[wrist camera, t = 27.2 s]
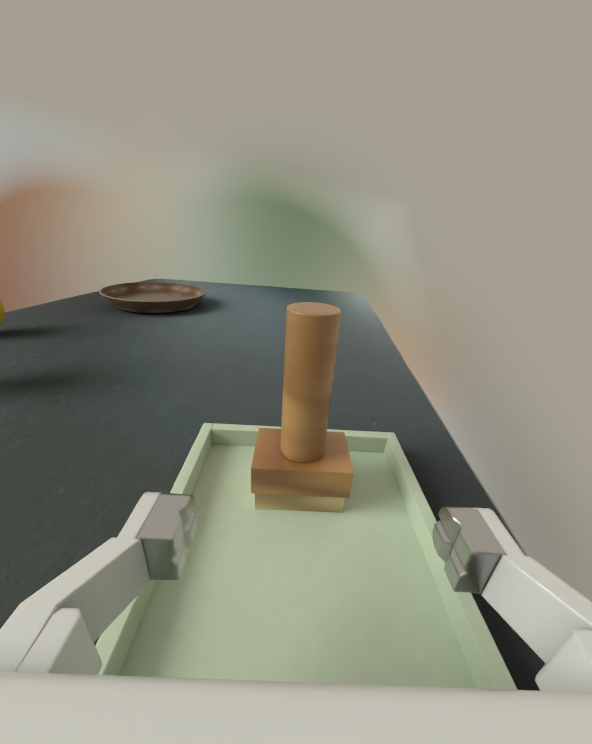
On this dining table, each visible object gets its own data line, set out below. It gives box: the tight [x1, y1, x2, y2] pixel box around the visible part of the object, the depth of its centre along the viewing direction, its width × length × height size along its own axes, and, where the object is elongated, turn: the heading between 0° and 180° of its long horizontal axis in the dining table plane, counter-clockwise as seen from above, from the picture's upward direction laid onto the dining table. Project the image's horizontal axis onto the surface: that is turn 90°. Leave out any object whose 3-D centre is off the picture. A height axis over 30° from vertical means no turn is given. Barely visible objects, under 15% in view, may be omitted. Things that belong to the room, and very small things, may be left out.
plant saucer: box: [99, 282, 205, 313], centre depth 66 cm, size 21×21×3 cm
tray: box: [96, 423, 517, 690], centre depth 14 cm, size 16×24×2 cm, turn 0°
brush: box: [251, 302, 354, 513], centre depth 18 cm, size 6×4×12 cm, turn 90°
